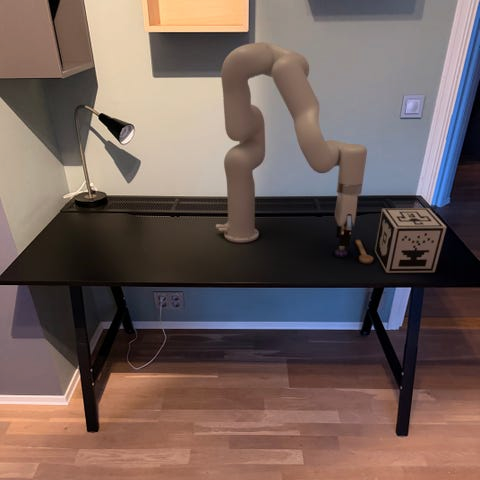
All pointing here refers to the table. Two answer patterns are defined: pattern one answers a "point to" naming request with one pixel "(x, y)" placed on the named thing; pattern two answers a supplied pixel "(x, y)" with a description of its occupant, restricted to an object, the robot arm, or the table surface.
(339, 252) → the toy lamp
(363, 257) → the wooden spoon
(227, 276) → the table surface
